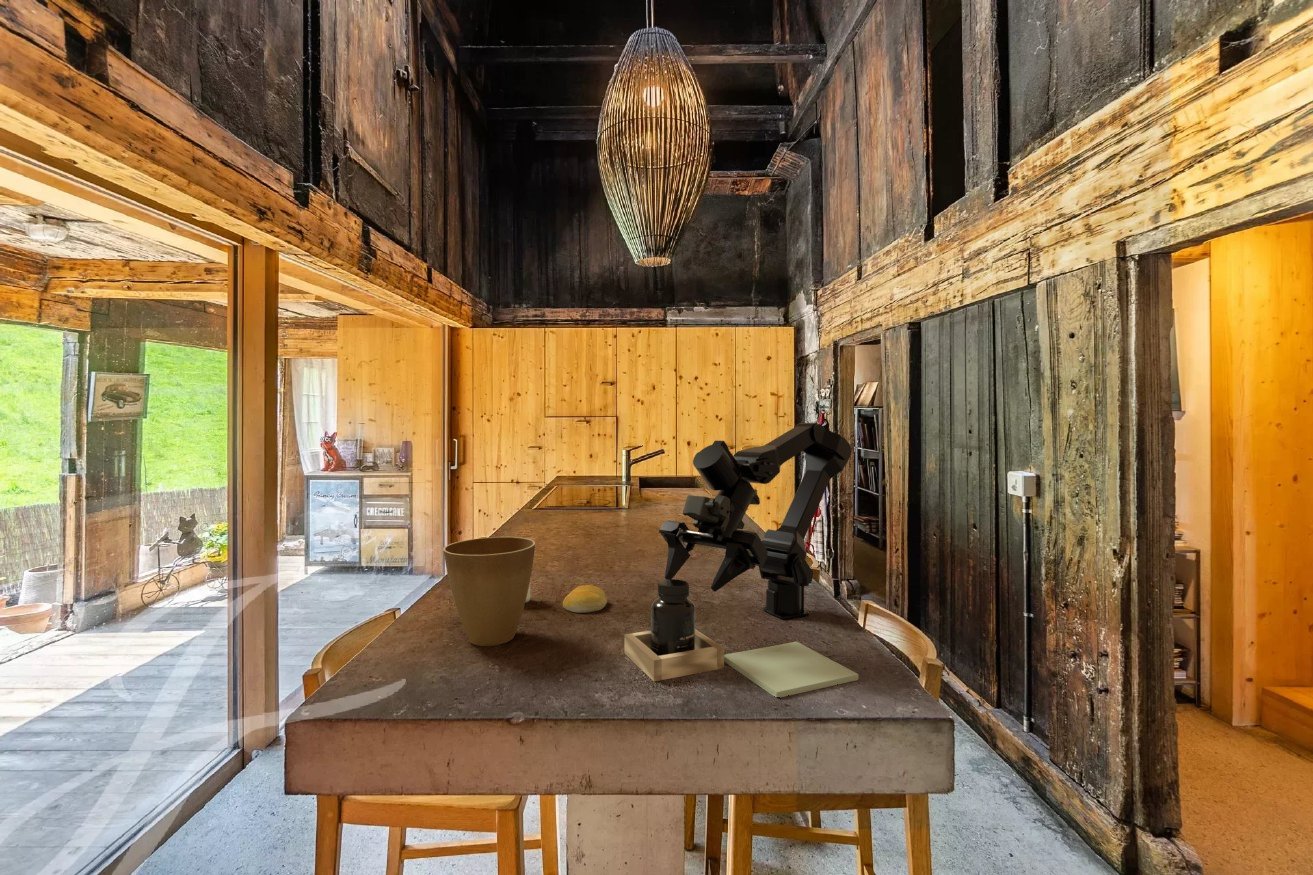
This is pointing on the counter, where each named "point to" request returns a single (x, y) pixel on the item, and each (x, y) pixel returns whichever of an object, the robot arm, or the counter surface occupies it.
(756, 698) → the counter surface
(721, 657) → the birch collar
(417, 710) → the counter surface
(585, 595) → the bread roll
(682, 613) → the supplement bottle
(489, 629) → the plant pot
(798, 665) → the sage board
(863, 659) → the counter surface
